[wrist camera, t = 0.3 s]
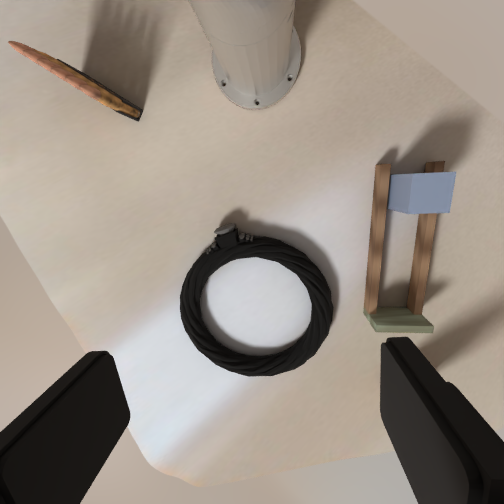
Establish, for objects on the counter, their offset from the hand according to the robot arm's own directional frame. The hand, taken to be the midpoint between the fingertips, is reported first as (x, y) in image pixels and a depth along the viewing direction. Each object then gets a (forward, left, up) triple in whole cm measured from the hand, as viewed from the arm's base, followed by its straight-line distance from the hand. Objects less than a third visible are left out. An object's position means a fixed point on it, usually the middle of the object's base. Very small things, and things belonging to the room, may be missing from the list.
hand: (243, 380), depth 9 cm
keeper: (-4, +21, -36) cm, 41 cm away
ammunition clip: (-20, -24, -36) cm, 48 cm away
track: (+4, +21, -36) cm, 41 cm away
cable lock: (+15, -3, -36) cm, 39 cm away
